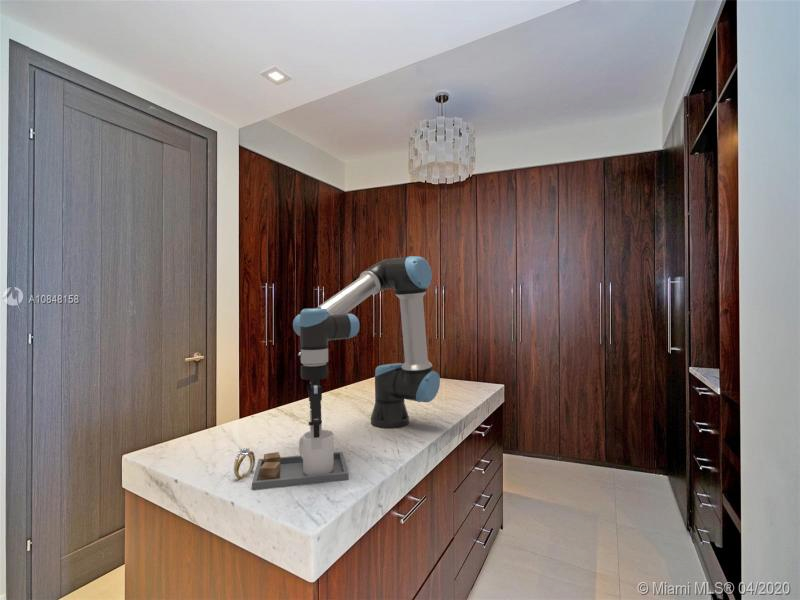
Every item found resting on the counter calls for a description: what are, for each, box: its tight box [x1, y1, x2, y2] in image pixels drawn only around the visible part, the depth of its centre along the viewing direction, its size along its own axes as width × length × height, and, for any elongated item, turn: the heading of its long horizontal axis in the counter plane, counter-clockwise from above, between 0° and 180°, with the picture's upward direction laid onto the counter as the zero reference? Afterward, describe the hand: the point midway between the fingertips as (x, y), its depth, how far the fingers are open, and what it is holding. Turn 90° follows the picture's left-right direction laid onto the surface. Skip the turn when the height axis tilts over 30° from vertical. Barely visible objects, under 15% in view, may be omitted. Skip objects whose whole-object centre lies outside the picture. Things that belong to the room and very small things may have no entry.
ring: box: [233, 447, 256, 480], centre depth 108 cm, size 7×3×8 cm, turn 156°
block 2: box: [260, 462, 280, 480], centre depth 106 cm, size 4×4×4 cm
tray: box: [251, 451, 349, 491], centre depth 111 cm, size 24×16×2 cm, turn 104°
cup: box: [298, 429, 335, 476], centre depth 112 cm, size 8×12×10 cm
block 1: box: [263, 451, 281, 463], centre depth 112 cm, size 4×4×4 cm
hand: (315, 440), depth 112 cm, fingers open, 13 cm apart
